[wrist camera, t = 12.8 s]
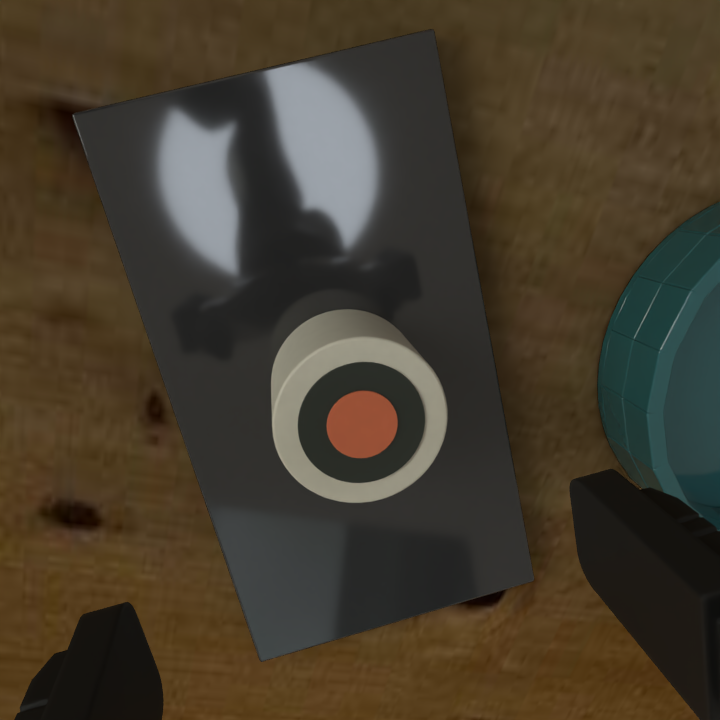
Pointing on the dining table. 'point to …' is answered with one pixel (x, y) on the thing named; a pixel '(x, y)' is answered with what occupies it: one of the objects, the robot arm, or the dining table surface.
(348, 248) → the glossy dark tile
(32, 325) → the dining table surface
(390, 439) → the sushi roll
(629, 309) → the bowl
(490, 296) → the dining table surface
